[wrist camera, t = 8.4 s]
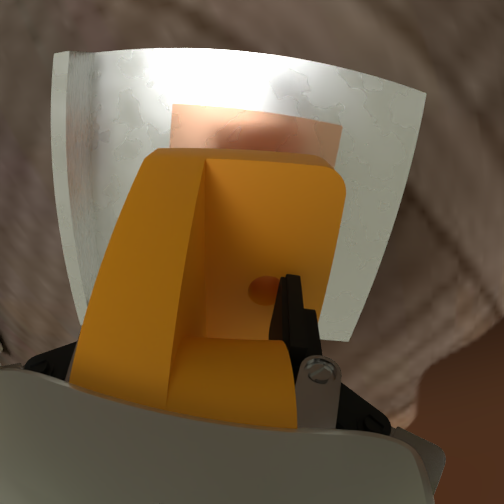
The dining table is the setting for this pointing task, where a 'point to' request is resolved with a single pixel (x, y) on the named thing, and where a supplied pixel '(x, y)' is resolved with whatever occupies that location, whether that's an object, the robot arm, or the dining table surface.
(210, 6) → the dining table surface
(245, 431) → the robot arm
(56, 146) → the plate
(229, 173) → the bracket
